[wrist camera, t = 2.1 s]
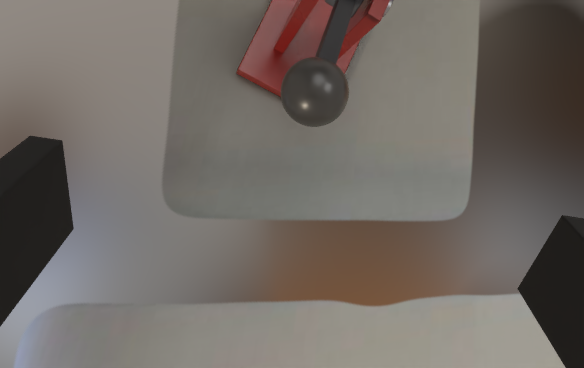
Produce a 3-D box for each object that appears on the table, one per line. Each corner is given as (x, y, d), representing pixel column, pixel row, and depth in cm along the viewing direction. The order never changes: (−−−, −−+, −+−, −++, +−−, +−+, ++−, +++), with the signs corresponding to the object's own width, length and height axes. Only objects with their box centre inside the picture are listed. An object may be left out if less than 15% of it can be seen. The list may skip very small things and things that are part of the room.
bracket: (321, 119, 40) (386, 80, 27) (236, 73, 39) (261, 8, 25) (366, 21, 42) (449, -61, 28) (286, -28, 40) (335, -140, 27)
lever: (321, 150, 23) (355, 111, 20) (262, 119, 22) (289, 75, 20) (362, 8, 31) (390, -34, 28) (320, -18, 30) (345, -63, 28)
